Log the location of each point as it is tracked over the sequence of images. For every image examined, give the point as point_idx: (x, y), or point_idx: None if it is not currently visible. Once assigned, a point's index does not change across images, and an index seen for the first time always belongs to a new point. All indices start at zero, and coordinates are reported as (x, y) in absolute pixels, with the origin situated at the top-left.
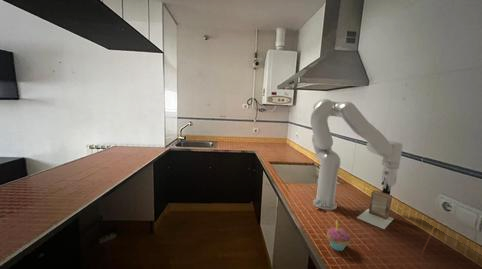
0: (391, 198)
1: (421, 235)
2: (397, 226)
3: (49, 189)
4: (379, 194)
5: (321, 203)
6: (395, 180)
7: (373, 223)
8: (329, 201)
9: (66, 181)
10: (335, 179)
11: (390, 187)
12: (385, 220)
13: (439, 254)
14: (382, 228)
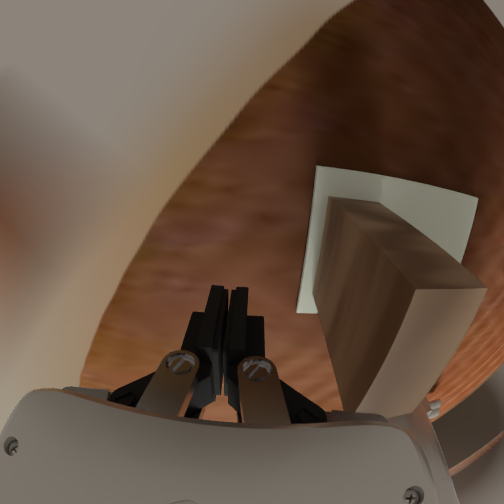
0: (408, 267)
1: (398, 36)
2: (400, 139)
3: (476, 457)
4: (441, 367)
5: (433, 407)
6: (80, 499)
7: (457, 245)
8: (424, 409)
9: (459, 468)
10: (443, 489)
11: (182, 391)
12: (391, 204)
13: (480, 25)
14: (476, 205)
